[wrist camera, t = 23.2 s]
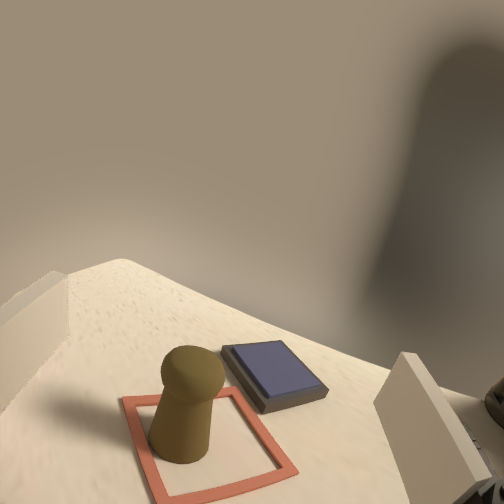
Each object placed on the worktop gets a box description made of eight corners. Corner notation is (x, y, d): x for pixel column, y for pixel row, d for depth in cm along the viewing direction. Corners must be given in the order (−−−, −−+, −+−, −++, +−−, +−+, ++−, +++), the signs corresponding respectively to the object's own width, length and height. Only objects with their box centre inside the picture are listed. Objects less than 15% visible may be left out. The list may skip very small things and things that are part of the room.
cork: (136, 429, 26) (143, 343, 23) (184, 411, 30) (202, 329, 28) (172, 473, 22) (189, 392, 19) (221, 448, 27) (250, 368, 24)
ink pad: (325, 397, 38) (330, 386, 38) (262, 414, 33) (267, 403, 32) (278, 347, 48) (282, 337, 47) (220, 354, 43) (223, 342, 42)
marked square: (298, 474, 25) (299, 472, 25) (160, 512, 18) (160, 510, 18) (235, 388, 36) (236, 385, 36) (121, 399, 29) (121, 396, 29)
